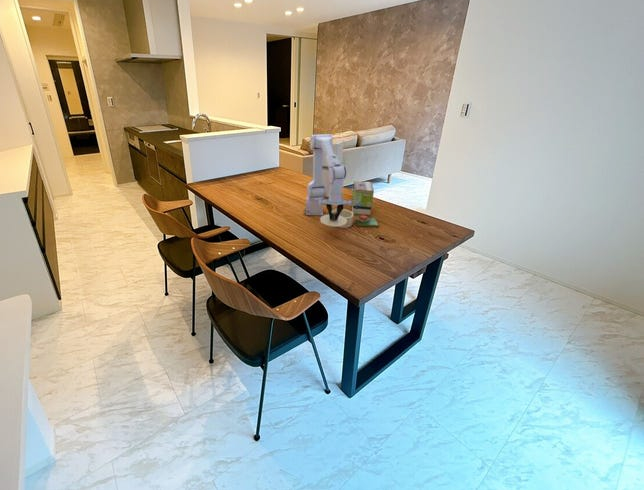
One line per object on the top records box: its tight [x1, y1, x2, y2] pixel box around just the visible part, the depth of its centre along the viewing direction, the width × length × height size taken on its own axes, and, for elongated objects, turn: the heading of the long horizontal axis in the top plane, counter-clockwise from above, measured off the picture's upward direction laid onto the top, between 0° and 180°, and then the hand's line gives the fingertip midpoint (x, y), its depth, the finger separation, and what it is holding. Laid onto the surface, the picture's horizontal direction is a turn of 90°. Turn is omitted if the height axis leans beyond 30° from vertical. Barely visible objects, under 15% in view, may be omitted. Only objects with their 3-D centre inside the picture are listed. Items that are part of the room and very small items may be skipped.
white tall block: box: [322, 139, 345, 200], centre depth 182 cm, size 11×11×35 cm
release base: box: [355, 215, 379, 228], centre depth 154 cm, size 10×8×3 cm
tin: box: [332, 208, 355, 229], centre depth 154 cm, size 11×11×5 cm
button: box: [359, 214, 368, 220], centre depth 153 cm, size 3×3×2 cm
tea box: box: [351, 180, 375, 216], centre depth 167 cm, size 15×10×15 cm
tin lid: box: [319, 212, 347, 228], centre depth 140 cm, size 12×12×4 cm
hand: (333, 218), depth 140 cm, fingers closed on tin lid, 2 cm apart
